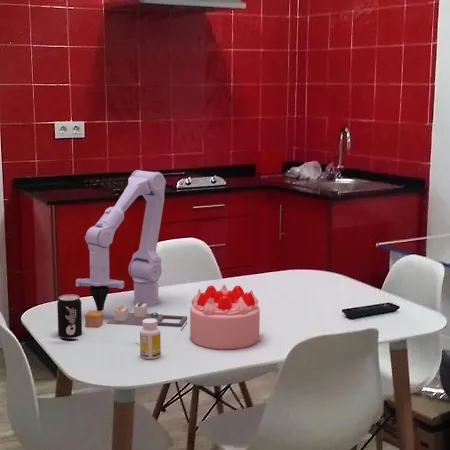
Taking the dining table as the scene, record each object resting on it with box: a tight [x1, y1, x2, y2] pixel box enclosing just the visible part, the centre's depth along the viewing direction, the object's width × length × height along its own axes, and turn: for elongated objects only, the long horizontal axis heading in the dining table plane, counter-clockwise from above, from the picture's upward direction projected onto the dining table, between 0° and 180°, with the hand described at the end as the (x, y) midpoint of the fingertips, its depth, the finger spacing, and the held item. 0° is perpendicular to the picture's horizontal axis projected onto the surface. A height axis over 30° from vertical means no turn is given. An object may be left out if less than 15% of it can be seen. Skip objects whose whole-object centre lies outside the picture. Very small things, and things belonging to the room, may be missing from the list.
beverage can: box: [56, 293, 83, 342], centre depth 214 cm, size 7×7×12 cm
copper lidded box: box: [84, 310, 104, 329], centre depth 223 cm, size 4×4×5 cm
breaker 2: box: [133, 302, 148, 317], centre depth 233 cm, size 4×3×4 cm
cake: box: [189, 284, 261, 350], centre depth 215 cm, size 20×20×14 cm
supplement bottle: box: [139, 319, 162, 360], centre depth 200 cm, size 5×5×10 cm
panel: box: [106, 311, 163, 327], centre depth 229 cm, size 12×14×2 cm
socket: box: [157, 314, 188, 332], centre depth 226 cm, size 8×8×2 cm
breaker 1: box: [114, 305, 129, 321], centre depth 229 cm, size 4×3×4 cm
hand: (100, 310), depth 230 cm, fingers closed
